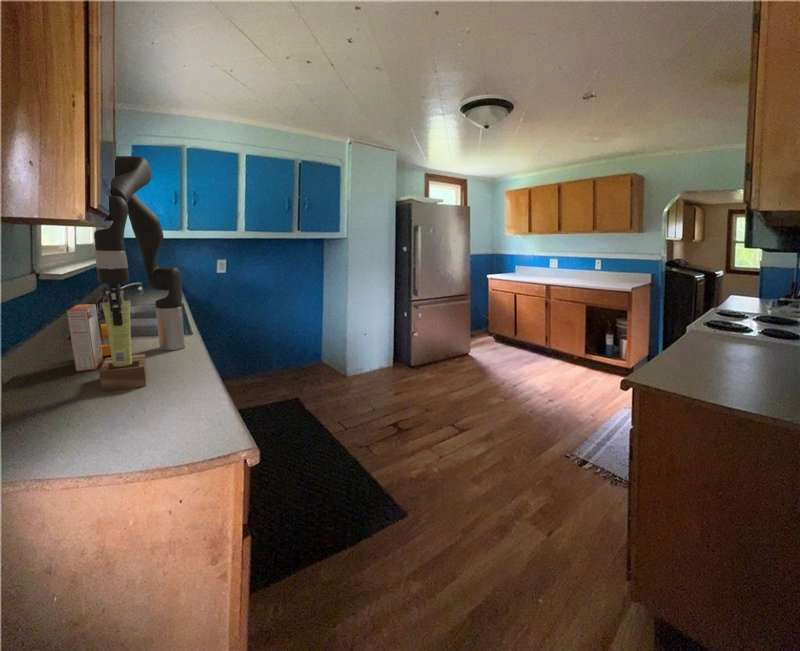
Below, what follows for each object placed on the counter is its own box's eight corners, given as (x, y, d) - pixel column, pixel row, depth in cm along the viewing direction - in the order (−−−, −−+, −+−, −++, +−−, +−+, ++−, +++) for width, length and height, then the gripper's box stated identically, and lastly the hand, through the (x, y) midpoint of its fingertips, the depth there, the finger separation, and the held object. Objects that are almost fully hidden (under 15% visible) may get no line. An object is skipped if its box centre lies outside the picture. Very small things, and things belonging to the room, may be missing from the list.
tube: (119, 361, 127) (112, 299, 123) (136, 361, 128) (130, 300, 124) (108, 367, 122) (101, 302, 118) (126, 367, 122) (119, 303, 118)
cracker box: (83, 361, 148) (75, 304, 144) (103, 359, 151) (96, 303, 147) (74, 372, 136) (65, 310, 132) (96, 370, 139) (88, 309, 135)
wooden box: (107, 376, 132) (105, 357, 131) (147, 371, 138) (145, 354, 137) (101, 391, 119) (99, 371, 118) (146, 386, 124) (144, 366, 123)
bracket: (96, 352, 160) (92, 322, 158) (118, 350, 164) (114, 321, 162) (96, 359, 152) (92, 327, 149) (119, 356, 156) (116, 325, 154)
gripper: (99, 265, 123) (106, 321, 126) (93, 268, 111) (100, 329, 114) (129, 265, 127) (134, 319, 130) (126, 267, 115) (132, 327, 118)
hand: (118, 323), depth 122 cm, fingers closed on tube, 4 cm apart
